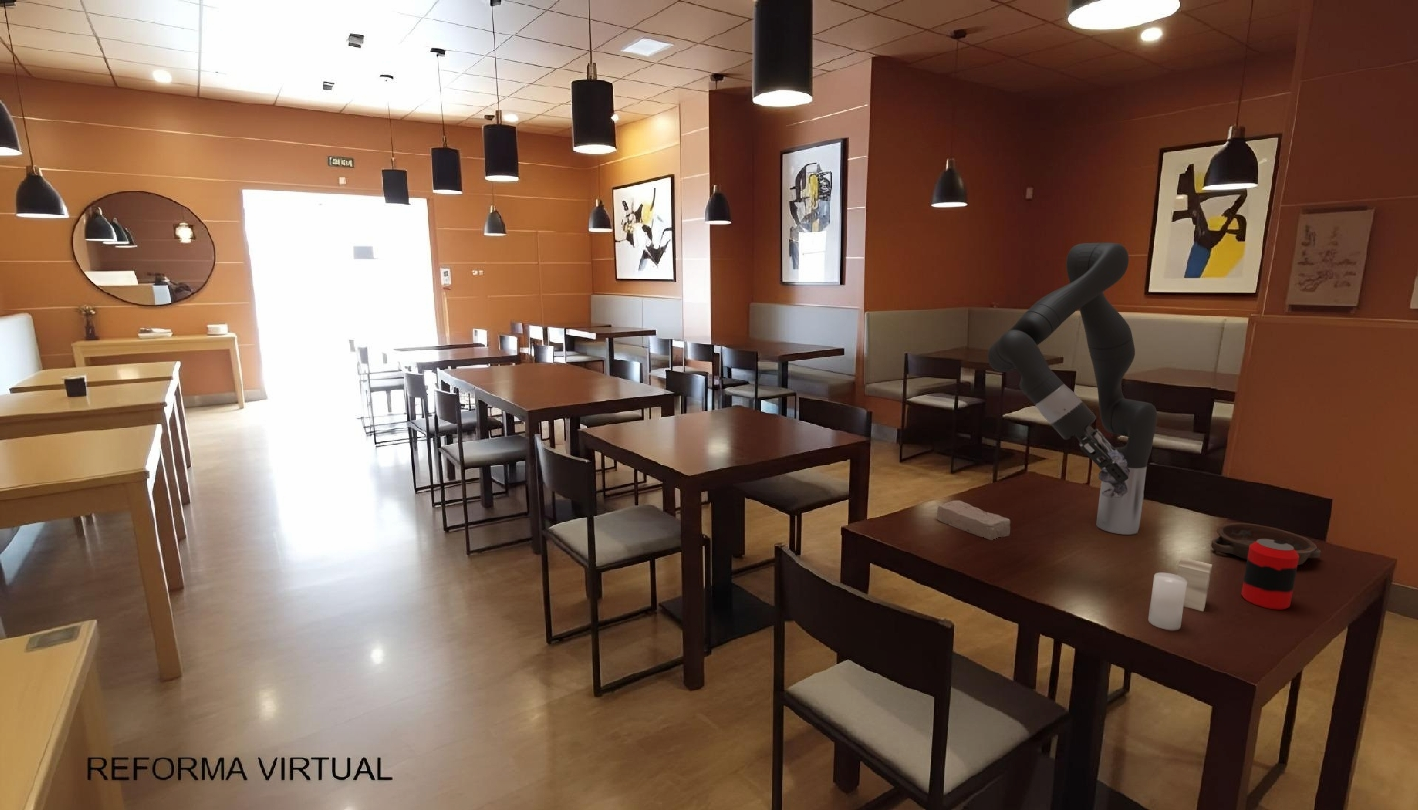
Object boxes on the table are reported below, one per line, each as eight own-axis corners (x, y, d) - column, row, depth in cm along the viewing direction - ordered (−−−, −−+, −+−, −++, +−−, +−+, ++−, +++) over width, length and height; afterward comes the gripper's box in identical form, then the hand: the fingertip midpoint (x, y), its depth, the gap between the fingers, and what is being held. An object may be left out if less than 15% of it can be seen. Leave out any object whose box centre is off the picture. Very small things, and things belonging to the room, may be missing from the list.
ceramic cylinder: (1157, 614, 130) (1163, 570, 128) (1185, 625, 126) (1192, 580, 124) (1142, 620, 127) (1148, 575, 126) (1171, 632, 123) (1178, 586, 121)
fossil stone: (1116, 503, 135) (1122, 454, 133) (1090, 495, 139) (1096, 448, 137) (1132, 499, 137) (1139, 451, 135) (1106, 491, 142) (1112, 445, 140)
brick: (1011, 535, 169) (1013, 517, 168) (990, 542, 165) (992, 523, 164) (955, 515, 183) (957, 499, 182) (935, 521, 178) (936, 504, 178)
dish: (1189, 539, 167) (1192, 520, 166) (1287, 544, 164) (1290, 524, 163) (1233, 569, 150) (1237, 548, 149) (1344, 575, 147) (1348, 553, 146)
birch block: (1175, 594, 138) (1181, 557, 136) (1206, 602, 135) (1212, 564, 133) (1172, 603, 134) (1178, 565, 133) (1203, 611, 131) (1209, 572, 129)
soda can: (1295, 603, 134) (1306, 546, 132) (1281, 614, 130) (1291, 555, 128) (1250, 588, 140) (1259, 534, 138) (1234, 598, 136) (1243, 542, 134)
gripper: (1076, 406, 132) (1141, 475, 128) (1084, 394, 144) (1143, 458, 140) (1044, 428, 136) (1105, 497, 132) (1054, 416, 148) (1110, 478, 144)
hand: (1125, 477), depth 136 cm, fingers closed on fossil stone, 4 cm apart
